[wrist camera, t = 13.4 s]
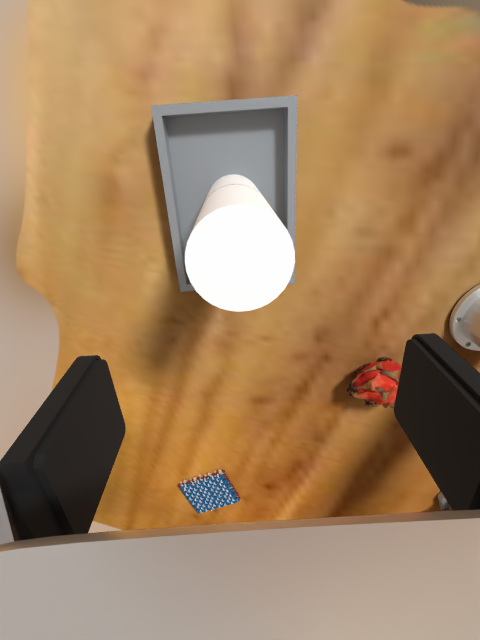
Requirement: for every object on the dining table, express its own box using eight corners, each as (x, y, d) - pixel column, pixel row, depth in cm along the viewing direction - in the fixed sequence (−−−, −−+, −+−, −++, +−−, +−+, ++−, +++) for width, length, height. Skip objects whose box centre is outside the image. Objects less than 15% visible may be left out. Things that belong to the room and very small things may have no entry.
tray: (291, 99, 40) (297, 95, 37) (290, 275, 50) (294, 283, 47) (156, 108, 40) (150, 105, 37) (183, 282, 50) (180, 291, 47)
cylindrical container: (217, 164, 42) (206, 184, 20) (269, 187, 43) (314, 231, 21) (199, 219, 45) (170, 290, 22) (248, 239, 46) (267, 324, 24)
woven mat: (176, 479, 70) (174, 487, 69) (222, 465, 69) (222, 473, 67) (197, 507, 75) (196, 516, 73) (241, 495, 73) (241, 503, 72)
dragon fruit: (410, 363, 60) (340, 367, 62) (423, 347, 52) (344, 352, 55) (421, 412, 56) (347, 415, 58) (438, 401, 49) (352, 405, 51)
